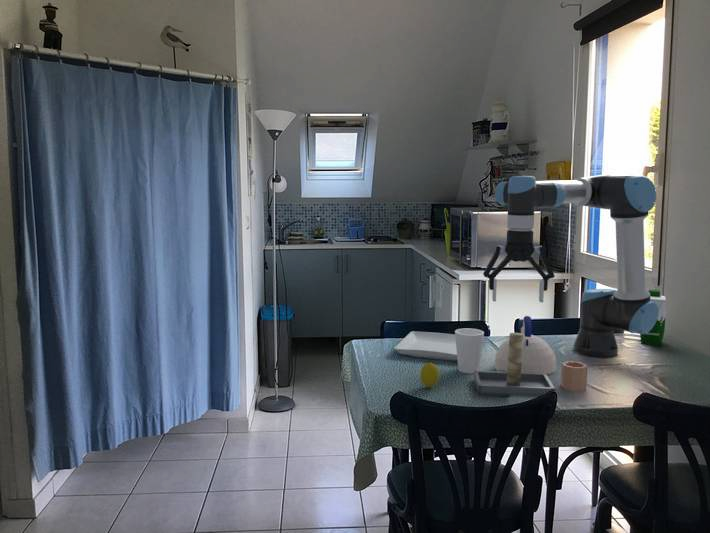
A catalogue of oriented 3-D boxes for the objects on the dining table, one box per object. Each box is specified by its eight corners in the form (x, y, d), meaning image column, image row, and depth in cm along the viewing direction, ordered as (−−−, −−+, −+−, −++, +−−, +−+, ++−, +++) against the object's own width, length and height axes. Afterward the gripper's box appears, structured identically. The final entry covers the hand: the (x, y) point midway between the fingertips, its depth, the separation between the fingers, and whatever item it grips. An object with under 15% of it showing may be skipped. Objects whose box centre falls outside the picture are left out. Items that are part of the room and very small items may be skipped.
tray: (545, 382, 199) (545, 373, 198) (554, 398, 185) (555, 388, 185) (473, 380, 201) (474, 370, 201) (477, 395, 187) (478, 385, 187)
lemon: (418, 385, 196) (419, 359, 195) (436, 384, 196) (437, 359, 195) (422, 391, 191) (422, 365, 189) (440, 390, 191) (441, 364, 190)
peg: (518, 383, 195) (522, 332, 192) (520, 388, 191) (524, 336, 188) (505, 383, 195) (508, 332, 192) (507, 387, 191) (510, 336, 188)
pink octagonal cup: (582, 386, 195) (583, 361, 194) (587, 394, 189) (589, 368, 187) (558, 386, 196) (560, 360, 195) (563, 393, 189) (565, 367, 188)
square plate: (470, 366, 216) (470, 355, 216) (392, 358, 225) (392, 347, 225) (481, 346, 242) (482, 336, 241) (411, 339, 251) (411, 329, 250)
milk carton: (662, 340, 250) (666, 290, 247) (663, 346, 241) (668, 294, 238) (638, 338, 253) (641, 288, 250) (638, 344, 245) (642, 292, 242)
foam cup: (482, 375, 205) (483, 336, 204) (453, 373, 207) (454, 334, 205) (482, 366, 215) (484, 329, 213) (454, 365, 216) (455, 327, 215)
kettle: (554, 362, 221) (557, 311, 218) (559, 381, 201) (562, 325, 198) (494, 358, 225) (496, 307, 223) (493, 376, 205) (495, 321, 203)
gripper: (561, 228, 188) (558, 299, 192) (475, 227, 191) (473, 297, 194) (567, 231, 181) (563, 304, 184) (477, 230, 183) (475, 302, 187)
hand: (517, 301), depth 189 cm, fingers open, 13 cm apart
